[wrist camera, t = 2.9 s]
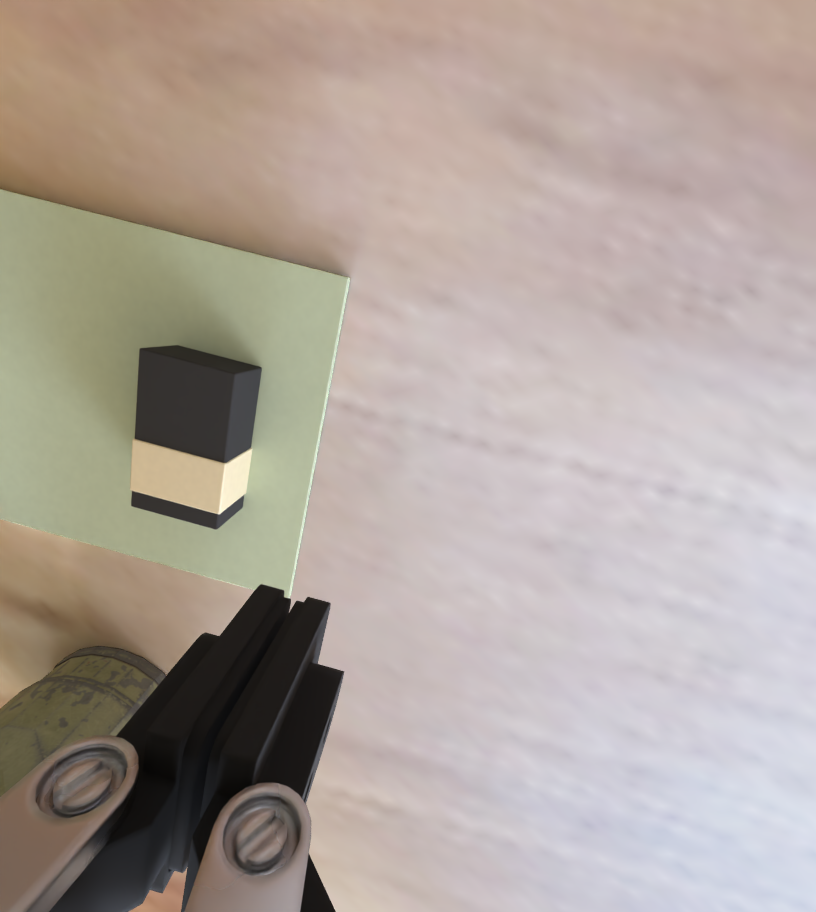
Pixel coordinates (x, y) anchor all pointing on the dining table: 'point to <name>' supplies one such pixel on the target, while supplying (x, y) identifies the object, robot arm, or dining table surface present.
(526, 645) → the dining table surface
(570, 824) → the dining table surface
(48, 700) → the thermos
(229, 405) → the eraser
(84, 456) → the desk mat
